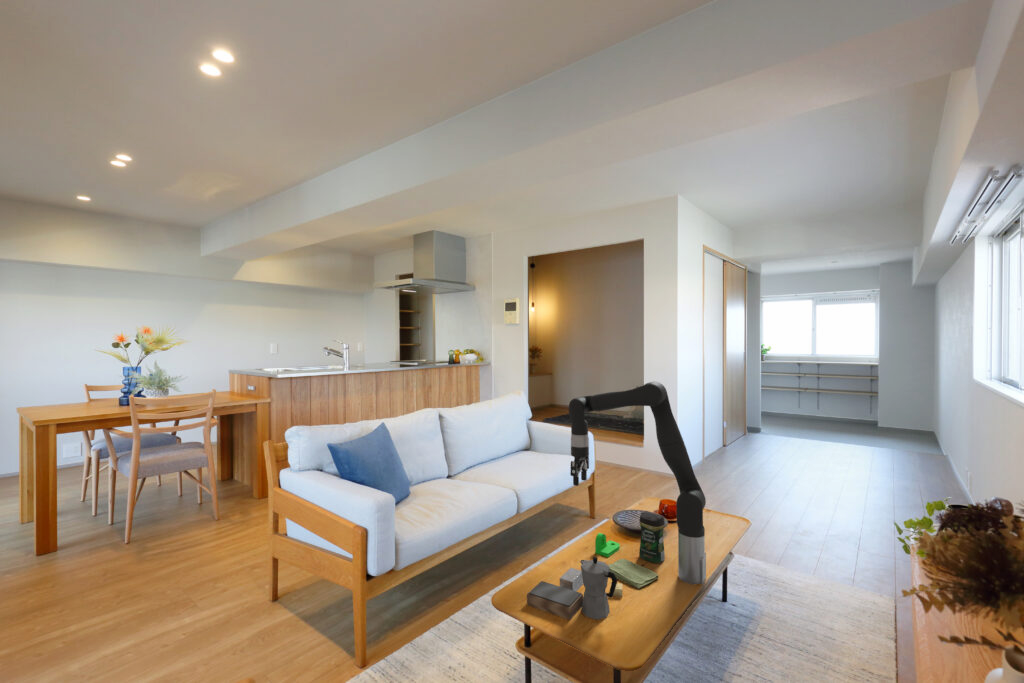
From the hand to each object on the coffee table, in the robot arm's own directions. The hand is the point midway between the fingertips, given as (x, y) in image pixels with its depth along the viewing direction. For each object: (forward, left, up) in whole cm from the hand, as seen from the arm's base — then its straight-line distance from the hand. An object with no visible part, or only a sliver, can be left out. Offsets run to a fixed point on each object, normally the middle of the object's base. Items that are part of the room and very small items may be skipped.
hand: (580, 482), depth 199 cm
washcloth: (-25, +9, -30) cm, 40 cm away
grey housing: (-10, +29, -29) cm, 42 cm away
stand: (-10, +42, -29) cm, 52 cm away
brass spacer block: (-25, +24, -29) cm, 45 cm away
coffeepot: (-24, +39, -29) cm, 54 cm away
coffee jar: (-28, -9, -29) cm, 41 cm away
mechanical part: (-10, -6, -29) cm, 32 cm away
